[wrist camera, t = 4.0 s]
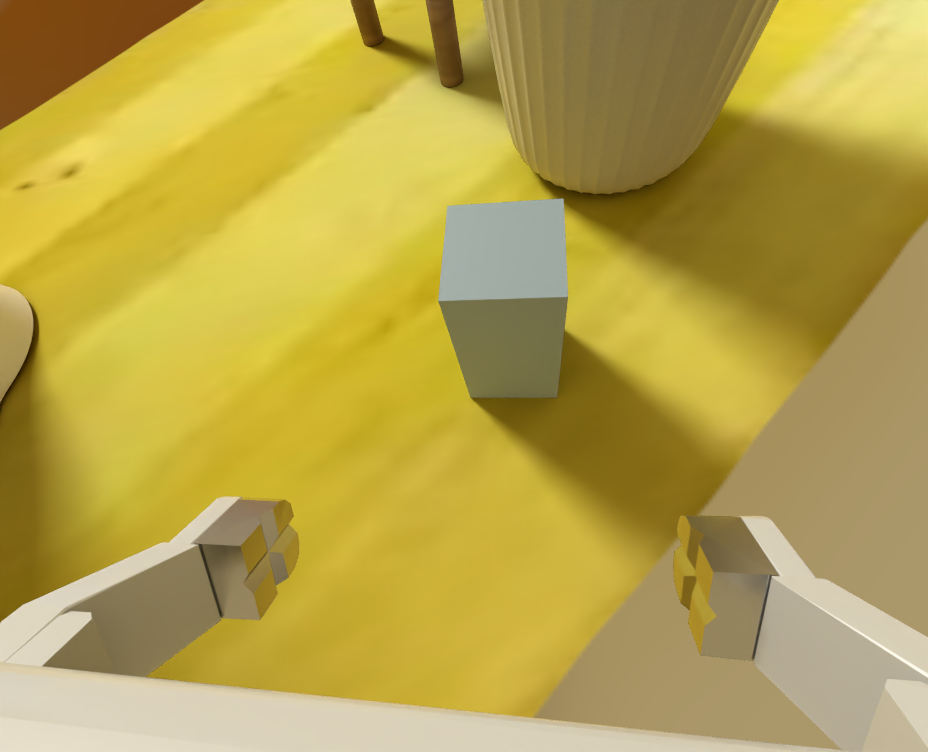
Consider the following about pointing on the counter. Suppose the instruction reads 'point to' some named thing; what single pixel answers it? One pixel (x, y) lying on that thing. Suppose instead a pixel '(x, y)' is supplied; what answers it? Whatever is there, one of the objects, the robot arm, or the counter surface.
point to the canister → (617, 82)
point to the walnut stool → (441, 28)
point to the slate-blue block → (506, 295)
